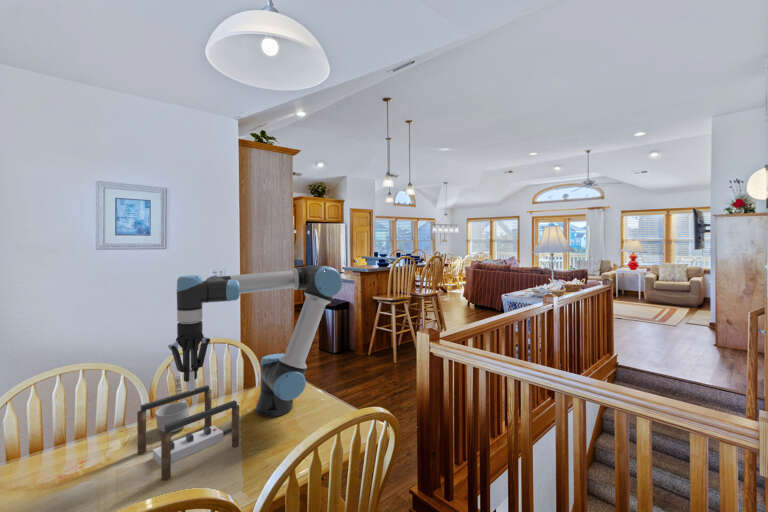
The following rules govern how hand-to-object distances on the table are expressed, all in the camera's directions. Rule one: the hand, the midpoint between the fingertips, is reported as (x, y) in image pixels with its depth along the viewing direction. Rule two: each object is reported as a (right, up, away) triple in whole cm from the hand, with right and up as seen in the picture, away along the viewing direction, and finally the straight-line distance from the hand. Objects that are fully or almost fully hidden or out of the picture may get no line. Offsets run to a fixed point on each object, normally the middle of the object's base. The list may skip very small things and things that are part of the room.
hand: (190, 389), depth 120 cm
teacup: (-14, -20, +15) cm, 28 cm away
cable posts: (-1, -21, +1) cm, 21 cm away
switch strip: (+1, -20, +3) cm, 21 cm away
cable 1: (-8, -6, +6) cm, 12 cm away
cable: (+8, -7, -6) cm, 12 cm away
